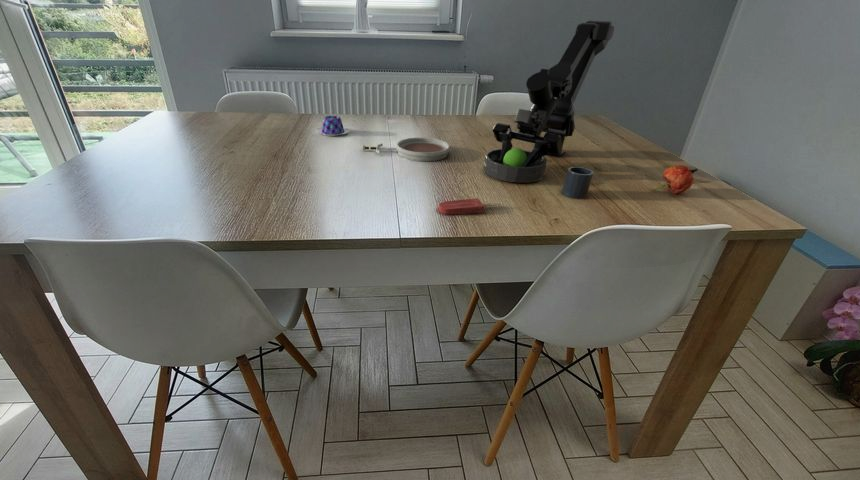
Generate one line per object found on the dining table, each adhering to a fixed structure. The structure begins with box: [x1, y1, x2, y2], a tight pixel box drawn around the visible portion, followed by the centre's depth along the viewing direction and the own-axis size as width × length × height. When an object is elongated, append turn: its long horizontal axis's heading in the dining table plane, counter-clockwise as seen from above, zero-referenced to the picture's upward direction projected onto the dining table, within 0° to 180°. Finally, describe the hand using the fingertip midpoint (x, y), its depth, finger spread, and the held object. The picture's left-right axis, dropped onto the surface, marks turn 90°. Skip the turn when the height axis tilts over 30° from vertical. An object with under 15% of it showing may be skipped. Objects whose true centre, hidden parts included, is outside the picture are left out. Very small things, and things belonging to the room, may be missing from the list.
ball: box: [503, 147, 527, 167], centre depth 111 cm, size 6×6×6 cm
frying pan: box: [360, 136, 451, 162], centre depth 127 cm, size 17×3×28 cm
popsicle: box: [437, 197, 502, 216], centre depth 93 cm, size 4×2×15 cm
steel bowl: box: [482, 148, 548, 184], centre depth 112 cm, size 16×16×4 cm
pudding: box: [315, 115, 351, 137], centre depth 144 cm, size 12×12×5 cm
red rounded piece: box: [652, 164, 698, 195], centre depth 102 cm, size 7×7×10 cm
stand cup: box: [561, 166, 595, 200], centre depth 100 cm, size 6×6×6 cm
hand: (512, 165), depth 111 cm, fingers open, 7 cm apart
